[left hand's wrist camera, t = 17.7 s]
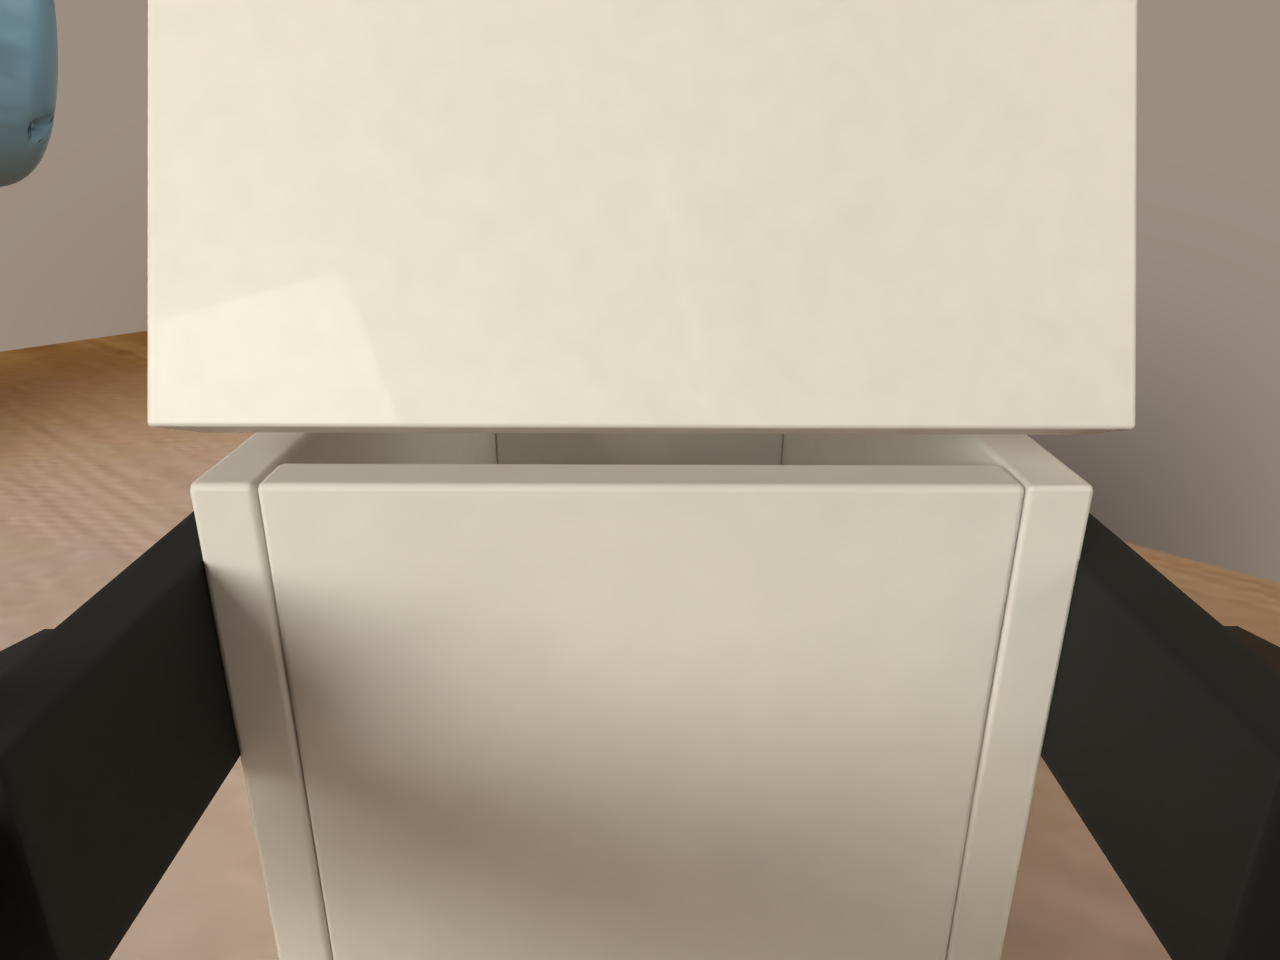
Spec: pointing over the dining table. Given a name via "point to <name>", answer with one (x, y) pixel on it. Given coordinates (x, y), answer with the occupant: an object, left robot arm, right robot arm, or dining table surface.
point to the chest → (640, 688)
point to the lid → (642, 216)
